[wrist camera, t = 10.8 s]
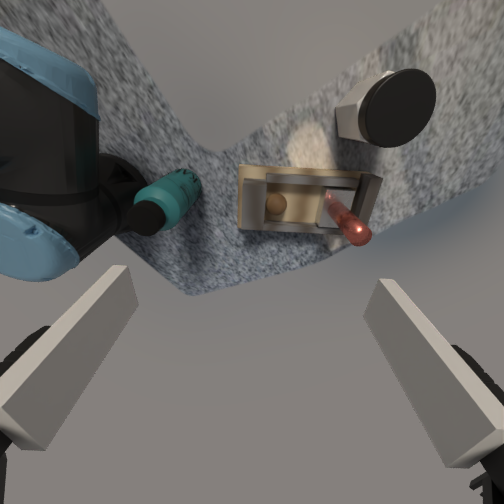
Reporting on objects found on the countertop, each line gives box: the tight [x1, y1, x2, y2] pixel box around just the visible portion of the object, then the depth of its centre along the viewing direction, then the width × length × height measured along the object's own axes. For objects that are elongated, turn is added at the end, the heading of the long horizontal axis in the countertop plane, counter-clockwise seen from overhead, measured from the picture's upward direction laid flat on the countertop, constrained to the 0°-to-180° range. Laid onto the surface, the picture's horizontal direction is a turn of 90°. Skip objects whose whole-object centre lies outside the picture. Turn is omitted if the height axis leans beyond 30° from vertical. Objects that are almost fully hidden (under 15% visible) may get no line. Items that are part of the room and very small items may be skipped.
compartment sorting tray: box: [238, 164, 383, 235], centre depth 42 cm, size 24×12×7 cm, turn 87°
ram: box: [315, 186, 372, 246], centre depth 37 cm, size 5×7×14 cm
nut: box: [265, 193, 287, 215], centre depth 41 cm, size 4×4×4 cm
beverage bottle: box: [127, 168, 202, 236], centre depth 35 cm, size 6×7×20 cm
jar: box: [335, 69, 436, 148], centre depth 32 cm, size 9×8×12 cm
